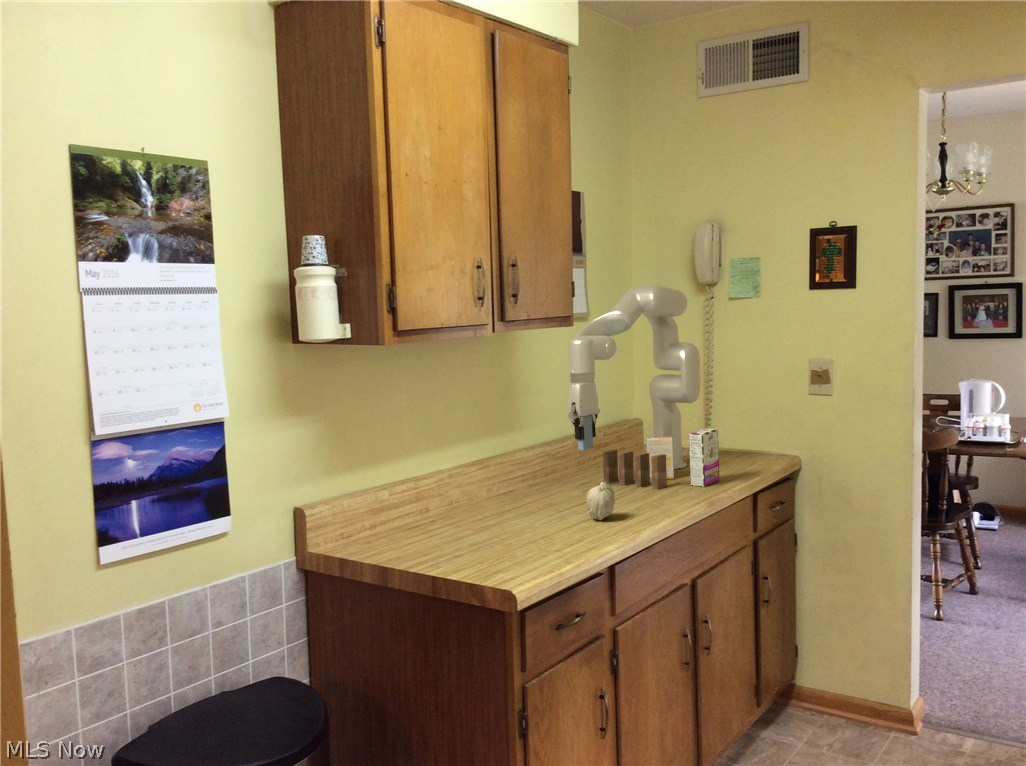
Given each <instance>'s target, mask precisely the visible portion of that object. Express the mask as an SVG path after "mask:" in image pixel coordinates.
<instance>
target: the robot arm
mask: <svg viewBox="0 0 1026 766" xmlns="http://www.w3.org/2000/svg"><path fill="white" fill-rule="evenodd" d="M687 308H688V300H687V296H686V295H685V293H684V292H683V291H681V290H679V289H675V288H671V287H667V286H663V285H657V284H655V285H652V284H651V285H637V286H632V287H629V288H628V289H627V290H626V291H625V292H624V294H622V296H621V297H620V298H619V300H618V301H617V302H616V303H615V304H614V305H613V307H612V308H611V309H609V311H608V312H606V313H604V314H602V315H600V316H599V317H597V318H594V319H593V320H592V321H589V322H588V323H587V324H585V325H584V326H583V327H582V328H581V329H580V330H579V332H577V334H576V335H575V337H574V338H571V339H570V340H569V341H568V353H569V354H568V356H569V377H570V378H569V379H570V383H569V385H568V391H567V414H568V416H567V419H568V420H569V421H570V422H571V423H572V426H573V427H574V439H575V440H577V441H578V440H584V427H582V425H583V417H584V416H589V415H592V431H593V438H596V423H597V419H598V416H599V415H600V413H601V410H600V407H599V395H598V394H599V393H598V388H597V384H596V370H595V369H596V367H595V365H596V363H595V361H606V360H609V359H611V358H613V357H614V355H615V354H616V351H617V342H616V341H615V340H614V338H612V337H613V336H617V335H620V334H623V333H625V332H627V331H629V330H630V329H631V328H632V326H633V325H635V323H636V322H637V320H638V319H639V318H640V317H641V316H642V315H643V316H644V318H646V319H647V321H648V322H649V324H650V325H651V326H650V327H651V330H652V355H653V356H652V358H653V364H654V366H655V368H657V369H658V370H662V371H678V372H680V374H673V373H672V374H671V373H669V374H667V373H665V374H662V373H661V374H657V375H655V376H654V377H652V378H651V379H650V382H649V385H648V392H649V396H650V400H651V402H650V403H651V406H652V409H651V410H652V431H653V432H652V436H653V437H671V438H672V439H673V464H674V470H677V469H678V470H679V468H680V469H684V468H686V467H687V466H688V463H687V461H684V460H683V459H685V458H687V457H688V452H686V451H683V448H682V447H683V446H682V445H683V443H682V437H683V436H682V414H681V413H682V412H681V411H680V409H679V407H678V405H677V404H694V403H696V402H697V400H698V399H699V398H700V393H701V355H700V350H699V349H698V347H697V345H695V344H694V343H693V342H688V341H683V342H680V340H679V327H678V324H677V322H676V320H675V319H674V317H681V316H682V315H683V314H684V313H685V312H686V310H687ZM577 418H579V421H578V419H577Z"/></svg>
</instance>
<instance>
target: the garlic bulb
mask: <svg viewBox="0 0 1026 766" xmlns="http://www.w3.org/2000/svg"><path fill="white" fill-rule="evenodd" d="M585 501H586V505H585V506H586V512H587V514H588V515H589V516H590V518H592V519H593V520H595V519H597V520H598V521H602V520H603V519H605V518H608V517H609V516H611V515H613V511H614V510H615V508H614V507H615V503H616V499H615V491H614V489H613V488H612V487H611V485H609V484H607V483H605V482H604V481H601V482H600V484H599V485H597V486H594V487H592V488H589V490H588V491H587V493H586V494H585Z"/></svg>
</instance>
